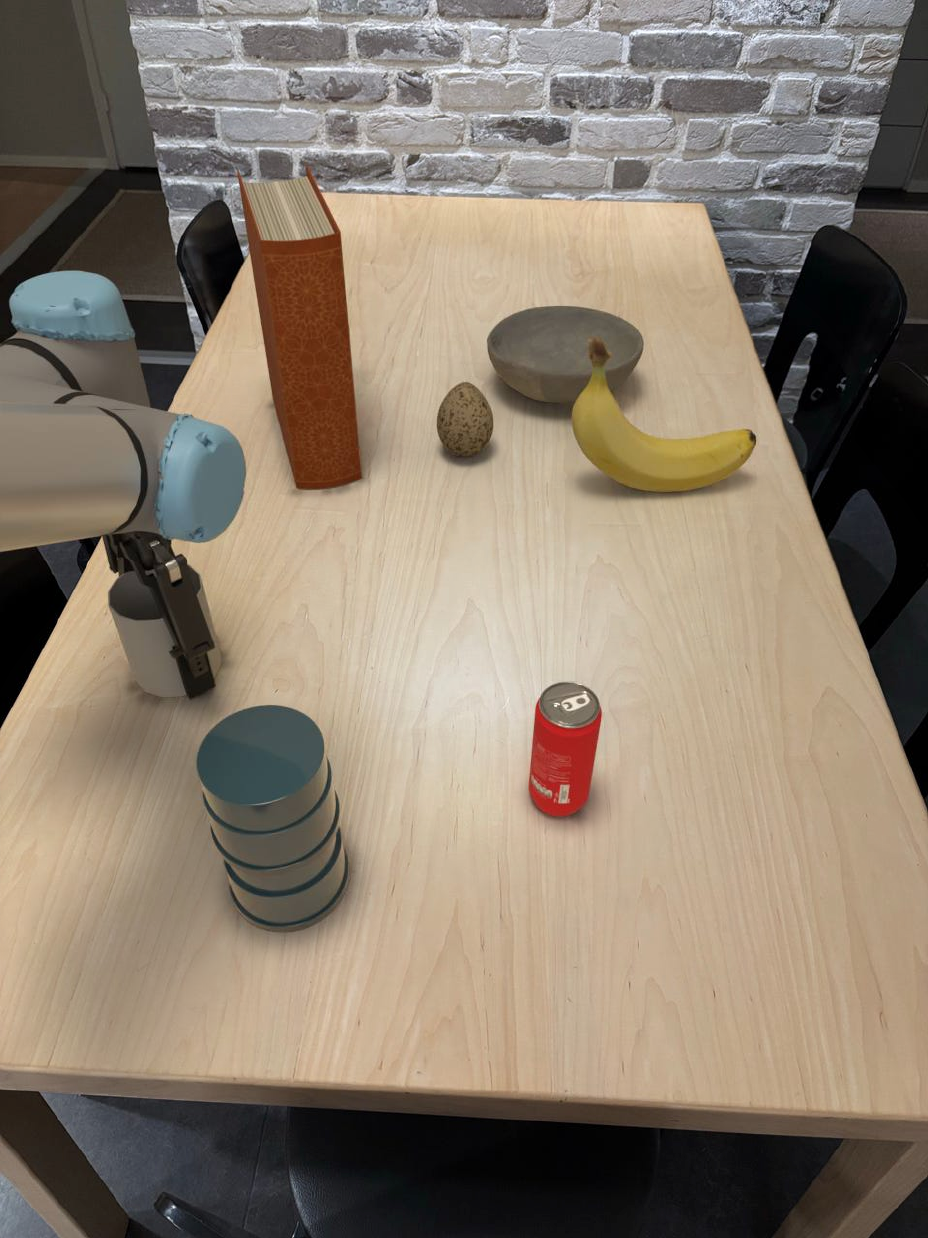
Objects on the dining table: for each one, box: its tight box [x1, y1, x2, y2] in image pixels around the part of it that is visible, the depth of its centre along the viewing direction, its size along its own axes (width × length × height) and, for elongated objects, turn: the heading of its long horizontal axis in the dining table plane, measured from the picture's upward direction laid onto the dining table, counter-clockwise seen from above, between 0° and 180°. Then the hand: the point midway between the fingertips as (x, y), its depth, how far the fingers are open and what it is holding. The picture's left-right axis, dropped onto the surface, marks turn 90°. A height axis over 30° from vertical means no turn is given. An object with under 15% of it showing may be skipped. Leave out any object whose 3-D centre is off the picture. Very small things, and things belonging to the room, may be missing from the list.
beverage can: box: [528, 681, 603, 818], centre depth 75 cm, size 5×5×12 cm
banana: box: [571, 337, 757, 493], centre depth 105 cm, size 23×6×20 cm, turn 96°
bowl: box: [486, 305, 644, 404], centre depth 127 cm, size 21×21×8 cm
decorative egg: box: [436, 381, 494, 458], centre depth 114 cm, size 7×7×10 cm
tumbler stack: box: [195, 704, 350, 933], centre depth 67 cm, size 9×9×16 cm
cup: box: [107, 564, 223, 698], centre depth 86 cm, size 8×8×10 cm
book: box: [236, 164, 363, 490], centre depth 109 cm, size 23×8×30 cm, turn 16°
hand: (177, 662), depth 89 cm, fingers open, 9 cm apart
